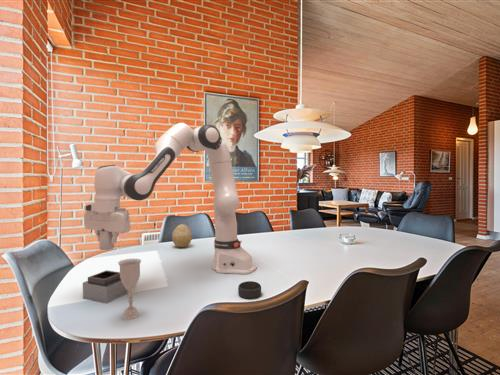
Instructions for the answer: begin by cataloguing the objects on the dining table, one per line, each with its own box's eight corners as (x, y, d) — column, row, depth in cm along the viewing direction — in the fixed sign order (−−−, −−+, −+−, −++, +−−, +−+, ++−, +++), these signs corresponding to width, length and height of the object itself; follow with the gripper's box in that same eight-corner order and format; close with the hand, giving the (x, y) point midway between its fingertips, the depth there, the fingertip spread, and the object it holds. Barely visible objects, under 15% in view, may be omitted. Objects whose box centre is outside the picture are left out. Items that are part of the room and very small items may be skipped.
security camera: (117, 247, 110) (117, 227, 110) (106, 250, 105) (106, 229, 105) (107, 246, 112) (107, 226, 112) (96, 249, 107) (96, 228, 107)
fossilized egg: (171, 250, 176) (171, 226, 176) (172, 245, 188) (172, 223, 188) (192, 248, 179) (192, 225, 178) (191, 244, 191) (191, 222, 191)
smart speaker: (233, 296, 108) (233, 286, 107) (246, 288, 115) (246, 279, 115) (253, 301, 103) (253, 291, 103) (265, 293, 111) (265, 283, 110)
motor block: (127, 292, 111) (127, 272, 111) (106, 303, 102) (106, 281, 102) (98, 287, 117) (97, 268, 117) (75, 296, 108) (75, 276, 108)
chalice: (114, 318, 91) (112, 263, 91) (130, 309, 98) (128, 257, 97) (131, 322, 89) (130, 265, 88) (147, 312, 95) (146, 259, 94)
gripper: (134, 207, 107) (134, 243, 108) (95, 204, 115) (95, 238, 115) (121, 209, 102) (121, 247, 102) (81, 206, 109) (80, 241, 109)
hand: (107, 242), depth 109 cm, fingers closed on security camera, 5 cm apart
